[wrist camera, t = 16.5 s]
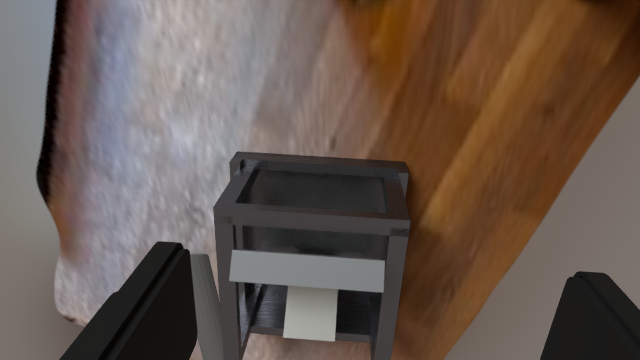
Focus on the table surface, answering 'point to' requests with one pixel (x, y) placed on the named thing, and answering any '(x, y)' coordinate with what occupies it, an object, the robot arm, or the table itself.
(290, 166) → the trapdoor frame
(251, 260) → the trapdoor
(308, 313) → the matte off-white cube
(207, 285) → the gray half cylinder
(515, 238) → the table surface
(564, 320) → the robot arm
